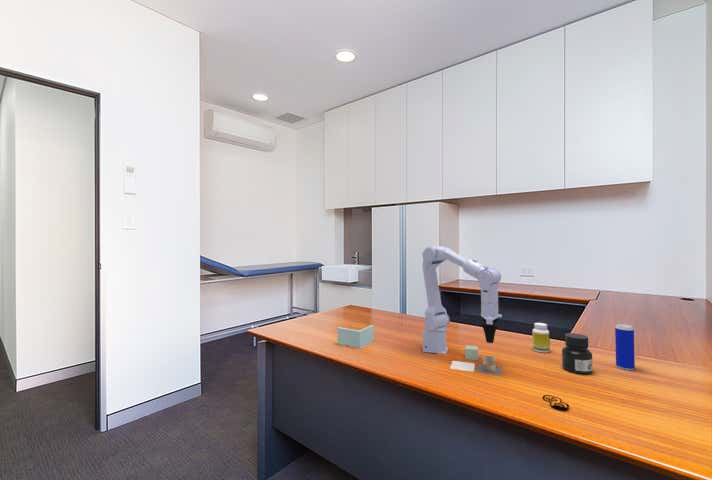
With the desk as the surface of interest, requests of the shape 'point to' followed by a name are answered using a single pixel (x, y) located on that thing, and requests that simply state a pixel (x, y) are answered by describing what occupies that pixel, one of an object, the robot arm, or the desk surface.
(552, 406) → the corroded twin loop
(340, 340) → the right angle wall
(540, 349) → the pill bottle
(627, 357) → the beverage can
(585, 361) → the ink bottle
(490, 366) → the grey cube
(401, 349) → the desk surface
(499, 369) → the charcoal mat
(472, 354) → the sage green cube
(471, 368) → the off-white mat
